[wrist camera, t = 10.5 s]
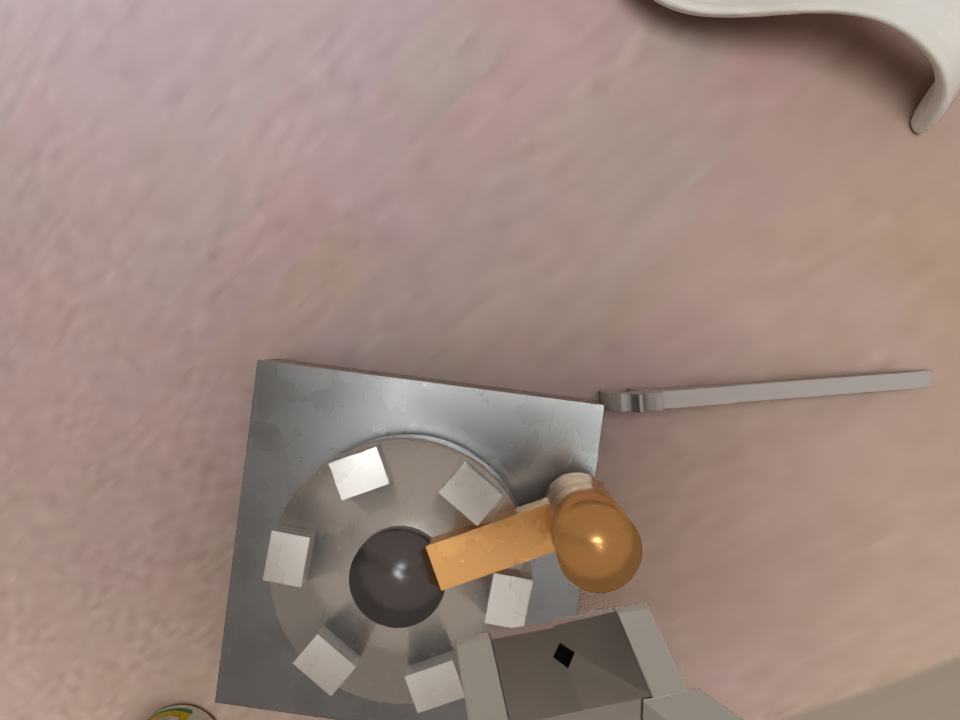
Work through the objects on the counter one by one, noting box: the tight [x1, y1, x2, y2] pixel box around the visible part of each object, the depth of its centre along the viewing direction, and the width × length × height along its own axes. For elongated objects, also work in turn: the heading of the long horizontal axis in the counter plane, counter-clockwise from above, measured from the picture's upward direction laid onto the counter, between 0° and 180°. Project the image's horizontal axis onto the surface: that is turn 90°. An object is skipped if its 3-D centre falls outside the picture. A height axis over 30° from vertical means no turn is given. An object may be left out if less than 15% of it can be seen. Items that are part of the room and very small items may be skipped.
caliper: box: [599, 370, 932, 413], centre depth 43 cm, size 20×1×6 cm, turn 94°
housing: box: [215, 359, 604, 720], centre depth 44 cm, size 20×20×4 cm
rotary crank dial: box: [263, 434, 642, 713], centre depth 37 cm, size 19×14×11 cm
